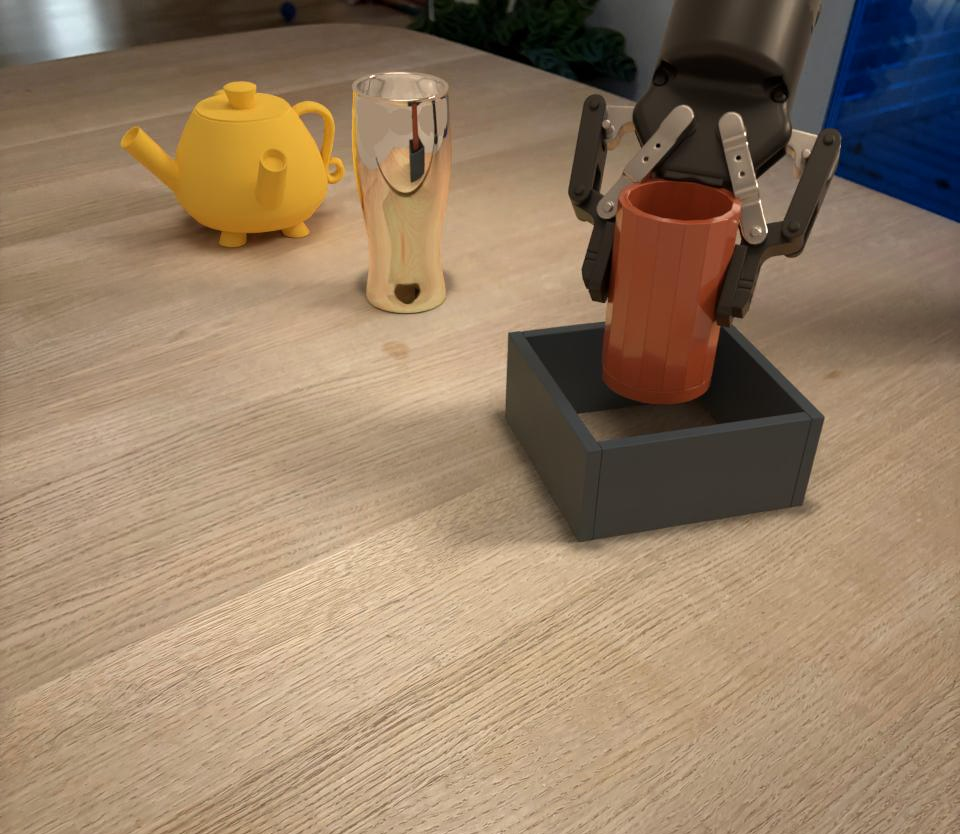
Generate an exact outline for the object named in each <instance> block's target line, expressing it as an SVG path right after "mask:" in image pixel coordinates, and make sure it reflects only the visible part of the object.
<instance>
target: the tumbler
mask: <svg viewBox="0 0 960 834" xmlns="http://www.w3.org/2000/svg"><path fill="white" fill-rule="evenodd" d="M741 208H742V202H741V201H740V200H739V199H735V197H734V194H733V193H732V192H730V191H728V190H726V189H724V188H716V187H710V186H705V185H702V184H699V183H696V182H677V181H672V180H667V179H666V180H665V179H664V178H655V179H650V180H647V181H645V182H643V183H640V184H639V183H636V182H635V183H633V184H631V185H629V186H627V187H625V188H623V189H622V190H621V192H620V195H619V197H618V203H617V213H616V223H615V232H614V242H613V252H612V262H611V271H610V281H609V291H608V298H607V301H606V313H605V320H604V321H605V330H604V340H603V350H602V359H601V360H602V367H601V376H602V379H603V381H604V383H605V384H606V385H607V386H608V387H609V388H610V389H611V390H613V391H614V392H616V393H618V394H620V395H621V396H624V397H626V398H629V399H632V400H635V401H639V402H644V403H651V404H650V405H675V404H682V403H687V402H690V401H693V400H696V399H697V398H698V397H700V396H701V395H703V394H704V393H705V392H706V391H707V390H708V388H709V386H710V383H711V377H712V372H713V367H714V361H715V356H716V350H717V344H718V339H719V333H720V327H721V326H718V325H717V319H716V312H717V307H718V303H719V300H720V296H721V293H722V289H723V286H724V282H725V279H726V275H727V272H728V268H729V265H730V261H731V258H732V255H733V252H734V247H735V244H736V241H737V235H738V232H739V231H738V225H739V219H740V214H741Z"/></svg>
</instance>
